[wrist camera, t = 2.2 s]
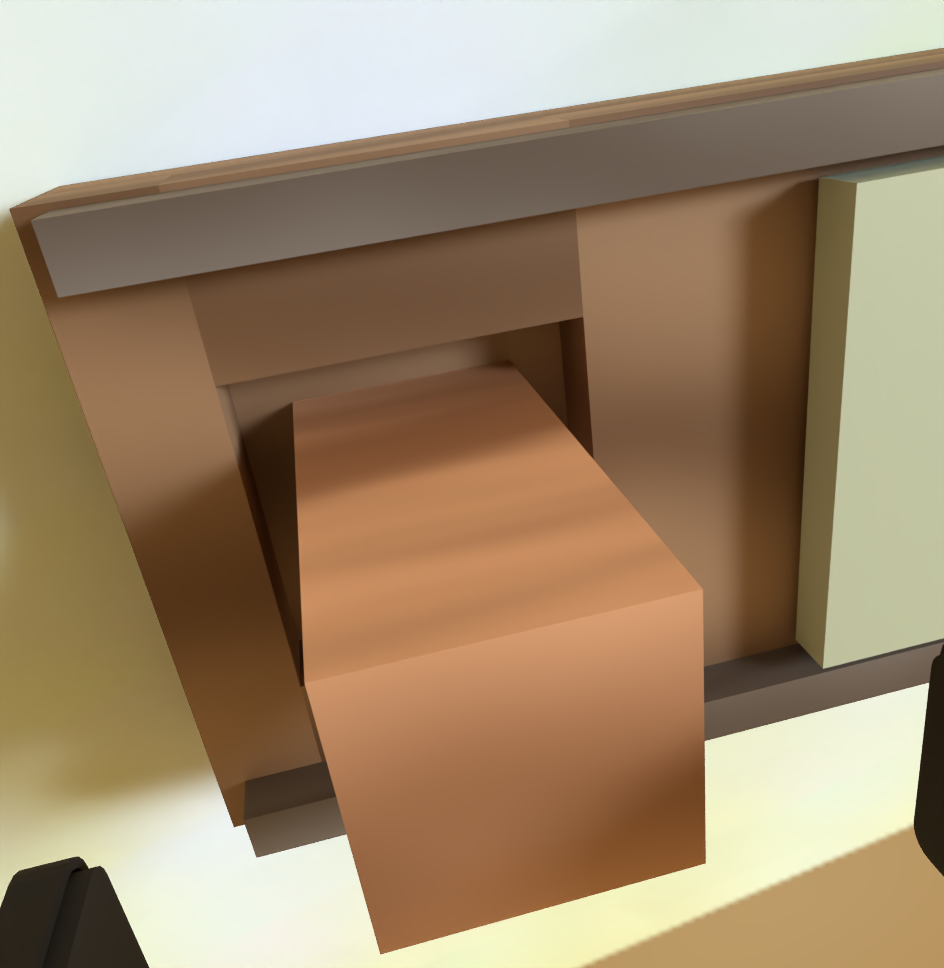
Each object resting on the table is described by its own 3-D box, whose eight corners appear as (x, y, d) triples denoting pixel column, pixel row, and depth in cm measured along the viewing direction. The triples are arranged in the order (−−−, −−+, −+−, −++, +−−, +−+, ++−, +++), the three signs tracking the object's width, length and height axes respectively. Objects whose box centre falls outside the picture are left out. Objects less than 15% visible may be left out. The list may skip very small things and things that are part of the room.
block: (292, 401, 15) (303, 682, 8) (509, 360, 16) (702, 588, 8) (337, 588, 17) (379, 954, 10) (530, 545, 17) (705, 862, 10)
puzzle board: (59, 186, 14) (-14, 219, 11) (1190, 9, 17) (1430, -12, 13) (240, 726, 20) (231, 868, 16) (1076, 525, 22) (1227, 608, 19)
